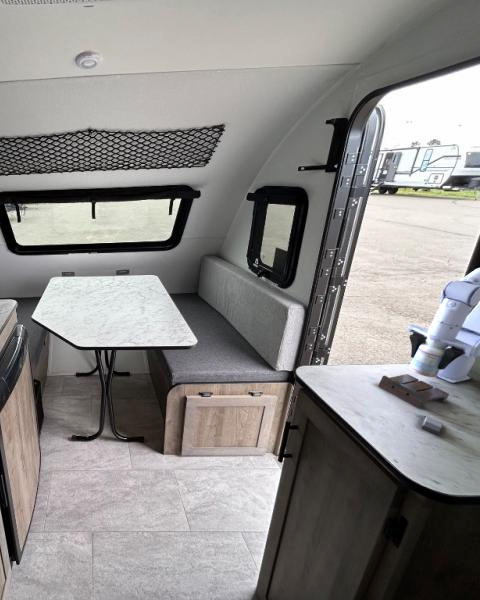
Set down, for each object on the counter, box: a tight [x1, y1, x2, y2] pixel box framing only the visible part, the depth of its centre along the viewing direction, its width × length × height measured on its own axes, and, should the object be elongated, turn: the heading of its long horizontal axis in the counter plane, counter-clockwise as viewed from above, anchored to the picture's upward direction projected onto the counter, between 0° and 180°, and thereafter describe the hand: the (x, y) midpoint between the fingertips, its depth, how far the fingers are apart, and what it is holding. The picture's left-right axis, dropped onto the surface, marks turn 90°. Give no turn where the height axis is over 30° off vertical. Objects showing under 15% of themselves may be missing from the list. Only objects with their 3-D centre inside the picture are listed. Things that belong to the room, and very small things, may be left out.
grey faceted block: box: [420, 415, 443, 436], centre depth 81 cm, size 6×3×2 cm, turn 131°
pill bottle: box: [409, 338, 448, 378], centre depth 97 cm, size 6×6×11 cm
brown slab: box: [378, 373, 450, 409], centre depth 94 cm, size 12×10×4 cm
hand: (426, 362), depth 98 cm, fingers closed on pill bottle, 6 cm apart
